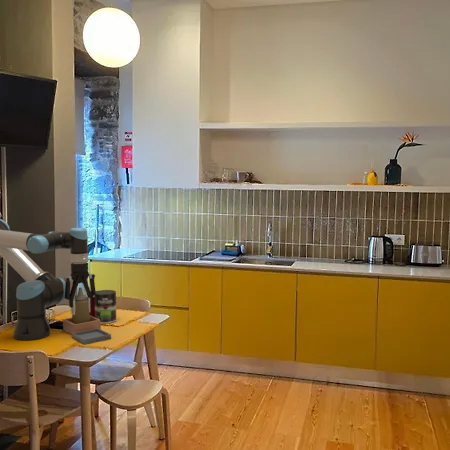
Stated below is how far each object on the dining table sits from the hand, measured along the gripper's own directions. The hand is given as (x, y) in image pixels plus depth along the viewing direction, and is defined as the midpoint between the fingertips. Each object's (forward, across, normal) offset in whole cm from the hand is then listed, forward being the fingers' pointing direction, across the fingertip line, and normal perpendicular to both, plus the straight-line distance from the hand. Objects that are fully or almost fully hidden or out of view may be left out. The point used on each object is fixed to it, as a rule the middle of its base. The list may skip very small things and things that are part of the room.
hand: (80, 312), depth 251 cm
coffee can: (+8, +16, +8) cm, 20 cm away
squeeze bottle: (+7, 0, 0) cm, 7 cm away
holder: (+8, 0, 0) cm, 8 cm away
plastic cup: (+8, +15, +20) cm, 26 cm away
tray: (+8, -2, -14) cm, 16 cm away
